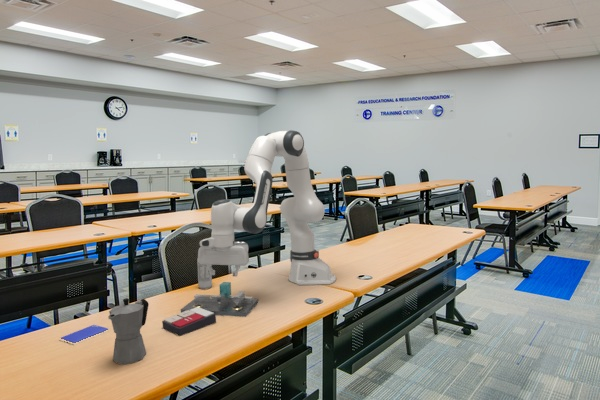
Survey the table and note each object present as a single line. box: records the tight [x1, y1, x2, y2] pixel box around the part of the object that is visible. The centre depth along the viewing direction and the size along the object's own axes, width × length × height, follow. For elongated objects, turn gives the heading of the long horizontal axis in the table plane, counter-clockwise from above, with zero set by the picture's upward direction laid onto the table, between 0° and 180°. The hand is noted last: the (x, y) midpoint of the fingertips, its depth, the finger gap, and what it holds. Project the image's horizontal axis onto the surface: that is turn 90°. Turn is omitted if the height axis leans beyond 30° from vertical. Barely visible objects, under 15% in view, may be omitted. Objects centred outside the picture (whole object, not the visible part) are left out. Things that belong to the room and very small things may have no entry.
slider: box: [217, 281, 232, 306], centre depth 169 cm, size 3×9×7 cm, turn 169°
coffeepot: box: [107, 298, 149, 365], centre depth 128 cm, size 15×9×18 cm, turn 159°
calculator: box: [161, 307, 217, 337], centre depth 152 cm, size 11×4×15 cm
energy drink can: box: [196, 258, 213, 290], centre depth 195 cm, size 6×6×15 cm
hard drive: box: [60, 324, 109, 343], centre depth 145 cm, size 2×8×12 cm
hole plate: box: [180, 290, 260, 318], centre depth 169 cm, size 26×16×6 cm, turn 79°
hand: (223, 275), depth 170 cm, fingers open, 8 cm apart
